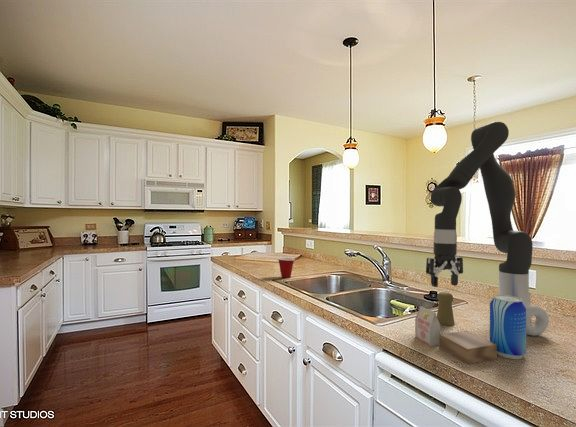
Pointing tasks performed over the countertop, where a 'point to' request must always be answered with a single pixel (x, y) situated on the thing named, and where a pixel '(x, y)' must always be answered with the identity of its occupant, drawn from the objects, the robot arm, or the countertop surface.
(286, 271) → the plastic cup
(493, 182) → the robot arm
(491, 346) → the walnut base
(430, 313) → the white tall box
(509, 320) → the beer can
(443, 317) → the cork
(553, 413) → the countertop surface
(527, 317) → the donut
